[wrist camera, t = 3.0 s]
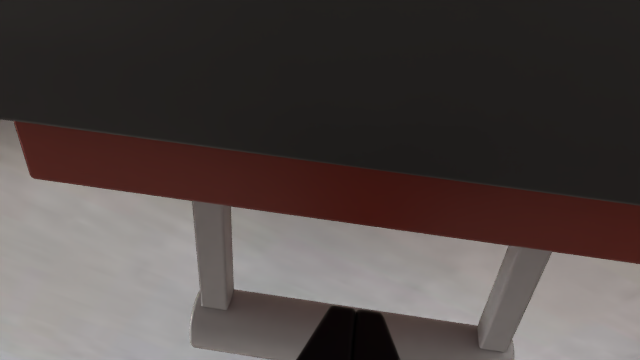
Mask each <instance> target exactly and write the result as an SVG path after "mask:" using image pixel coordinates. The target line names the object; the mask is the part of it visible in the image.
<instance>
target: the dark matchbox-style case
mask: <svg viewBox="0 0 640 360" xmlns="http://www.w3.org/2000/svg"><path fill="white" fill-rule="evenodd" d="M0 119H3V120H10V121H18V122H25V123H32V124H40V125H47V126H54V127H62V128H69V129H77V130H84V131H91V132H99V133H106V134H114V135H121V136H128V137H136V138H143V139H151V140H158V141H165V142H173V143H180V144H187V145H195V146H202V147H210V148H217V149H224V150H232V151H239V152H247V153H254V154H261V155H269V156H276V157H284V158H291V159H298V160H306V161H313V162H321V163H328V164H335V165H343V166H350V167H357V168H365V169H372V170H380V171H387V172H394V173H402V174H409V175H417V176H424V177H431V178H439V179H446V180H454V181H461V182H468V183H476V184H483V185H490V186H498V187H505V188H513V189H520V190H527V191H535V192H542V193H550V194H557V195H564V196H572V197H579V198H587V199H594V200H601V201H609V202H616V203H624V204H631V205H638V206H640V0H0Z"/></svg>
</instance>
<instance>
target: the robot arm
mask: <svg viewBox="0 0 640 360" xmlns="http://www.w3.org/2000/svg"><path fill="white" fill-rule="evenodd" d="M296 360H400V357H399V354H398V352H397V349H396V347H395V344H394V341H393V339H392V336H391V334H390V331H389V328H388V326H387V323H386V321H385V318H384V316H383V314H382V313H381V312H378V311H372V310H365V309H359V310H357V311H355V309H353V308H351V307H345V306H338V305H332V306H330V307H329V308H328V310H327V311H326V313H325V315H324V316H323V318H322V319H321V321H320V322H319V324H318V326H317V327H316V329H315V330H314V332H313V334H312V335H311V337H310V338H309V340H308V342H307V343H306V345H305V346H304V348H303V350H302V351H301V353H300V354H299V356H298V357H297V359H296Z"/></svg>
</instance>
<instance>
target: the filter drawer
mask: <svg viewBox="0 0 640 360" xmlns="http://www.w3.org/2000/svg"><path fill="white" fill-rule="evenodd" d="M14 125H15V128H16V131H17V134H18V138H19V141H20V144H21V147H22V150H23V154H24V157H25V160H26V163H27V167H28V170H29V173H30V176H31V177H32V178H34V179H40V180H48V181H55V182H62V183H69V184H76V185H83V186H90V187H97V188H104V189H111V190H119V191H126V192H133V193H140V194H147V195H154V196H161V197H168V198H175V199H182V200H189V201H192V205H193V216H194V227H195V238H196V249H197V261H198V272H199V283H200V291H199V293H198V295H197V297H196V300H195V303H194V306H193V310H192V315H191V320H190V329H189V336H190V343H191V345H192V346H193V347H195V348H201V349H208V350H214V351H221V352H227V353H234V354H240V355H246V356H253V357H259V358H266V359H272V360H296V359H297V357H298V356H299V354H300V353H301V351H302V350H303V348H304V346H305V345H306V343H307V342H308V340H309V338H310V337H311V335H312V334H313V332H314V330H315V329H316V327H317V326H318V324H319V322H320V321H321V319H322V318H323V316H324V315H325V313H326V311H327V310H328V308H329V307H330V306H332V305H335V304H329V303H322V302H315V301H309V300H302V299H295V298H288V297H282V296H275V295H268V294H262V293H255V292H248V291H242V290H235V289H234V282H233V254H232V226H231V206H232V207H239V208H246V209H253V210H260V211H267V212H275V213H282V214H289V215H296V216H303V217H310V218H317V219H324V220H331V221H338V222H346V223H353V224H360V225H367V226H374V227H381V228H388V229H395V230H402V231H409V232H416V233H424V234H431V235H438V236H445V237H452V238H459V239H466V240H473V241H480V242H487V243H494V244H502V245H509V246H508V249H507V252H506V254H505V257H504V259H503V262H502V265H501V267H500V270H499V272H498V275H497V277H496V280H495V283H494V285H493V288H492V290H491V293H490V295H489V298H488V301H487V303H486V306H485V308H484V311H483V314H482V316H481V319H480V321H479V324H478V326H476V325H469V324H463V323H456V322H449V321H442V320H436V319H429V318H422V317H416V316H409V315H402V314H396V313H389V312H382V311H378V312H381V313H382V314H383V316H384V318H385V321H386V323H387V326H388V328H389V331H390V334H391V336H392V339H393V341H394V344H395V347H396V349H397V352H398V354H399V357H400V360H514V346H513V341H512V338H513V336H514V334H515V332H516V330H517V327H518V325H519V323H520V321H521V319H522V316H523V314H524V312H525V310H526V308H527V306H528V303H529V301H530V299H531V297H532V295H533V292H534V290H535V288H536V286H537V284H538V282H539V279H540V277H541V275H542V273H543V271H544V268H545V266H546V264H547V262H548V260H549V257H550V255H551V253H552V252H558V253H565V254H573V255H580V256H587V257H594V258H601V259H608V260H615V261H622V262H629V263H636V264H640V206H638V205H631V204H624V203H616V202H609V201H601V200H594V199H587V198H579V197H572V196H564V195H557V194H550V193H542V192H535V191H527V190H520V189H513V188H505V187H498V186H490V185H483V184H476V183H468V182H461V181H454V180H446V179H439V178H431V177H424V176H417V175H409V174H402V173H394V172H387V171H380V170H372V169H365V168H357V167H350V166H343V165H335V164H328V163H321V162H313V161H306V160H298V159H291V158H284V157H276V156H269V155H261V154H254V153H247V152H239V151H232V150H224V149H217V148H210V147H202V146H195V145H187V144H180V143H173V142H165V141H158V140H151V139H143V138H136V137H128V136H121V135H114V134H106V133H99V132H91V131H84V130H77V129H69V128H62V127H54V126H47V125H40V124H32V123H25V122H18V121H14ZM338 306H342V305H338ZM345 307H349V306H345ZM351 308H353V309H355V311H357V310H359V309H362V308H355V307H351ZM365 310H369V309H365ZM372 311H375V310H372Z"/></svg>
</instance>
